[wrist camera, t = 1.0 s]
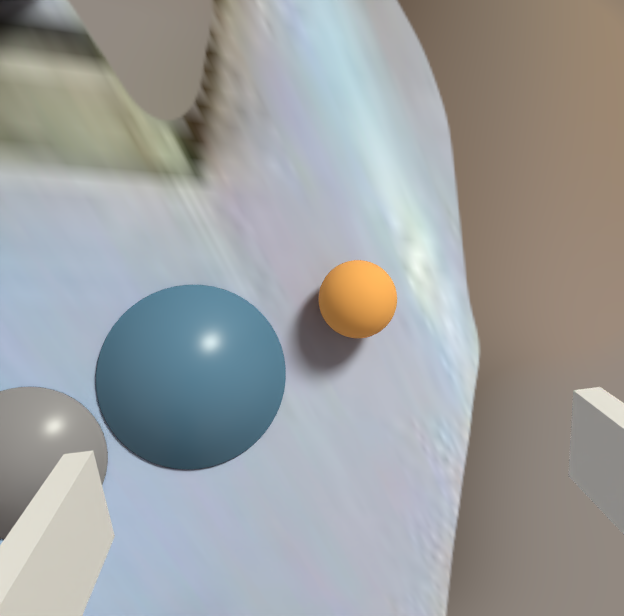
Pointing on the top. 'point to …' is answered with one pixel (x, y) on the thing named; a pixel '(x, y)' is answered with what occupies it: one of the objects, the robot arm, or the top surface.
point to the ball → (357, 299)
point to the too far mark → (40, 444)
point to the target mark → (190, 377)
